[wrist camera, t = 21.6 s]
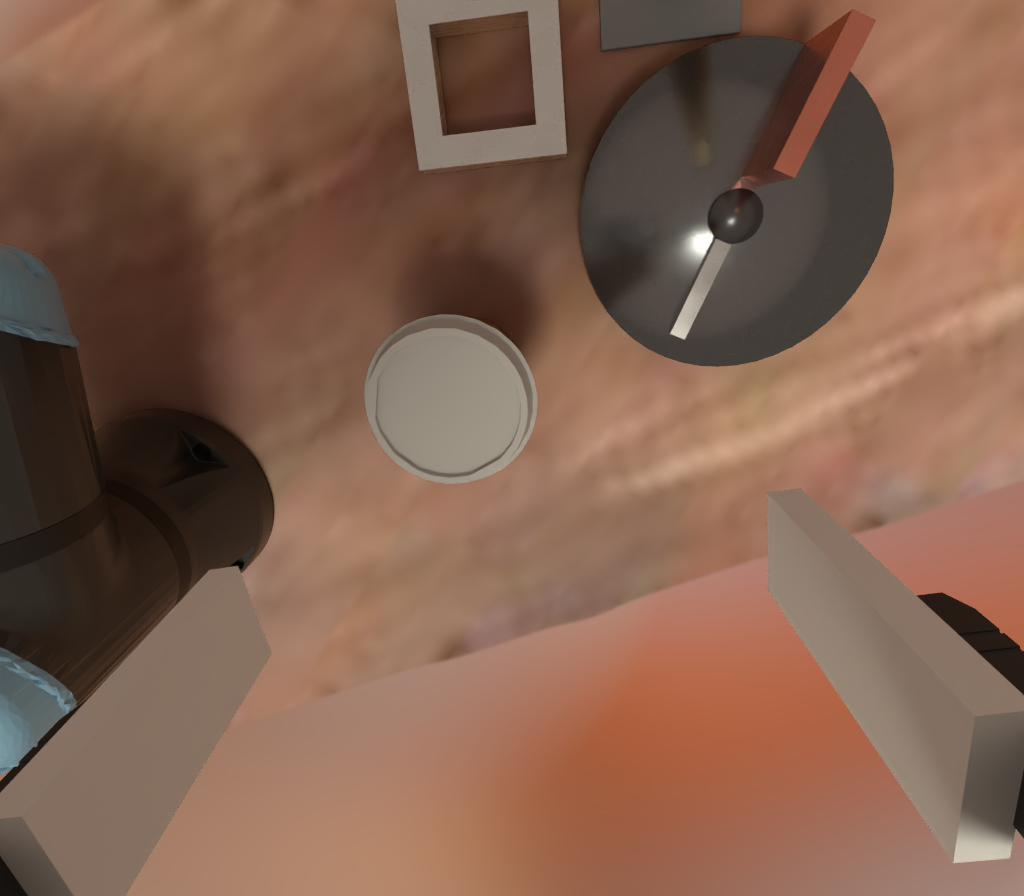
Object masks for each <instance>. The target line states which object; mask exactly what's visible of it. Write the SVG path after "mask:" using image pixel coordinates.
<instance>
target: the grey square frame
mask: <svg viewBox="0 0 1024 896" xmlns="http://www.w3.org/2000/svg"><path fill="white" fill-rule="evenodd" d="M395 2H396V9H397V16H398V23H399V30H400V38H401V45H402V52H403V59H404V66H405V73H406V80H407V88H408V95H409V102H410V109H411V116H412V123H413V130H414V138H415V145H416V152H417V159H418V166H419V171H421V172H423V173H425V174H435V173H443V172H452V171H461V170H469V169H478V168H487V167H495V166H504V165H512V164H521V163H530V162H538V161H547V160H556V159H564V158H566V155H567V146H566V129H565V112H564V95H563V78H562V61H561V43H560V26H559V9H558V0H395ZM522 26H529V36H530V49H531V63H532V76H533V90H534V103H535V117H536V125H529V126H521V127H513V128H505V129H496V130H488V131H480V132H472V133H463V134H455V135H448V131H447V123H446V114H445V106H444V98H443V90H442V82H441V73H440V65H439V57H438V49H437V40H436V38H441V37H448V36H456V35H463V34H471V33H478V32H485V31H493V30H500V29H507V28H515V27H522Z"/></svg>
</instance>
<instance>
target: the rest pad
mask: <svg viewBox="0 0 1024 896" xmlns="http://www.w3.org/2000/svg"><path fill="white" fill-rule="evenodd" d="M599 7H600V33H601V52H604V51H611V50H619V49H627V48H634V47H642V46H650V45H657V44H665V43H673V42H680V41H688V40H696V39H703V38H711V37H719V36H726V35H734V34H739V33H740V28H741V0H599Z"/></svg>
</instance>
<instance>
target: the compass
mask: <svg viewBox="0 0 1024 896" xmlns="http://www.w3.org/2000/svg"><path fill="white" fill-rule="evenodd" d="M875 21H876V20H875V19H872V18H870V17H868V16H866V15H864V14H862V13H860V12H858V11H855V10H853V9H852V10H851V11H850V12H848V13H847V14H845V15H844V16H843V17H841V18H840V19H839V20H837V21H836V22H834V23H833V24H832V25H830V26H829V27H828V28H826V29H825V30H823V31H822V32H821V33H819V34H818V35H817V36H815V37H814V38H812V39H811V40H810V41H808V42H807V43H806V44H803V43H800V42H797V41H794V40H789V39H783V38H778V37H767V36H748V37H740V38H731V39H726V40H723V41H719V42H715V43H712V44H708V45H705V46H703V47H701V48H698V49H696V50H694V51H691V52H689V53H687V54H685V55H683V56H681V57H680V58H678V59H676V60H674V61H673V62H671V63H669V64H668V65H666V66H665V67H663V68H662V69H661V70H659V71H658V72H657V73H656V74H654V75H653V76H652V77H650V78H649V79H648V80H647V81H646V82H645V83H644V84H643V85H642V86H641V87H640V88H639V89H638V90H637V91H636V92H635V93H634V94H633V95H632V96H631V97H630V98H629V99H628V100H627V101H626V103H625V104H624V105H623V107H622V108H621V109H620V110H619V112H618V113H617V114H616V115H615V117H614V119H613V120H612V122H611V124H610V125H609V127H608V128H607V130H606V132H605V133H604V135H603V137H602V138H601V140H600V142H599V144H598V146H597V148H596V150H595V153H594V155H593V157H592V159H591V161H590V165H589V168H588V171H587V174H586V177H585V180H584V184H583V189H582V194H581V200H580V210H579V241H580V247H581V253H582V258H583V262H584V266H585V269H586V272H587V275H588V278H589V281H590V283H591V285H592V287H593V289H594V291H595V294H596V295H597V297H598V299H599V300H600V302H601V303H602V305H603V306H604V308H605V309H606V311H607V312H608V313H609V314H610V315H611V317H612V318H613V319H614V320H615V321H616V323H617V324H618V325H619V326H620V327H621V328H622V329H623V330H624V331H625V332H626V333H628V334H629V335H630V336H631V337H632V338H633V339H634V340H636V341H637V342H639V343H640V344H642V345H643V346H645V347H646V348H648V349H650V350H652V351H654V352H656V353H658V354H660V355H662V356H664V357H667V358H670V359H673V360H676V361H679V362H683V363H688V364H694V365H699V366H731V365H739V364H744V363H749V362H754V361H758V360H761V359H764V358H767V357H770V356H773V355H775V354H778V353H780V352H782V351H784V350H786V349H788V348H790V347H792V346H794V345H796V344H797V343H799V342H801V341H802V340H804V339H806V338H807V337H809V336H810V335H812V334H813V333H814V332H816V331H817V330H818V329H819V328H821V327H822V326H823V325H825V324H826V323H827V322H828V321H829V320H830V319H831V318H832V317H833V316H834V315H835V314H836V313H837V312H838V311H839V310H840V309H841V308H842V307H843V306H844V305H845V304H846V302H847V301H848V300H849V299H850V298H851V296H852V295H853V294H854V293H855V292H856V290H857V289H858V287H859V286H860V284H861V283H862V281H863V280H864V278H865V277H866V275H867V273H868V271H869V269H870V268H871V266H872V264H873V262H874V260H875V258H876V256H877V254H878V251H879V249H880V246H881V243H882V241H883V238H884V235H885V232H886V229H887V225H888V221H889V217H890V213H891V206H892V198H893V171H894V168H893V160H892V153H891V146H890V142H889V139H888V135H887V131H886V128H885V125H884V122H883V120H882V118H881V116H880V113H879V111H878V109H877V106H876V105H875V103H874V102H873V100H872V98H871V97H870V95H869V94H868V92H867V91H866V89H865V88H864V86H863V85H862V84H861V83H860V82H859V81H858V80H857V79H856V77H855V76H854V75H853V74H852V73H851V72H850V70H851V68H852V66H853V64H854V62H855V60H856V58H857V56H858V54H859V52H860V50H861V48H862V46H863V44H864V42H865V40H866V39H867V37H868V35H869V33H870V31H871V29H872V27H873V25H874V23H875Z"/></svg>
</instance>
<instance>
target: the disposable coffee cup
mask: <svg viewBox="0 0 1024 896" xmlns="http://www.w3.org/2000/svg"><path fill="white" fill-rule="evenodd" d="M364 398H365V409H366V413H367V418H368V421H369V423H370V426H371V428H372V431H373V433H374V436H375V438H376V439H377V441H378V442H379V444H380V446H381V447H382V449H383V451H384V452H385V453H386V454H387V455H388V456H389V457H390V458H391V459H392V460H393V461H394V462H395V463H396V464H397V465H399V466H400V467H402V468H403V469H405V470H406V471H408V472H409V473H411V474H413V475H416V476H418V477H420V478H423V479H425V480H429V481H433V482H438V483H446V484H454V483H466V482H470V481H474V480H479V479H482V478H485V477H487V476H490V475H492V474H494V473H496V472H497V471H499V470H501V469H503V468H504V467H505V466H507V465H508V464H509V463H510V462H512V461H513V460H514V459H515V458H516V456H517V455H518V454H519V453H520V452H521V451H522V449H523V448H524V446H525V445H526V443H527V441H528V440H529V438H530V436H531V433H532V430H533V428H534V425H535V420H536V414H537V392H536V387H535V381H534V377H533V375H532V373H531V370H530V368H529V365H528V363H527V362H526V360H525V358H524V356H523V355H522V353H521V352H520V351H519V350H518V348H517V347H516V346H515V345H514V343H512V342H511V341H510V339H509V338H508V336H507V335H506V334H505V333H504V332H503V331H502V330H501V329H500V328H499V327H498V326H496V325H495V324H493V323H491V322H488V321H486V320H483V319H477V318H469V317H466V316H461V315H451V314H440V315H433V316H428V317H423V318H420V319H417V320H415V321H413V322H411V323H408V324H406V325H404V326H402V327H401V328H400V329H398V330H397V331H396V332H394V333H393V334H392V335H390V336H389V337H388V338H387V339H386V340H385V341H384V343H383V344H382V345H381V346H380V348H379V349H378V350H377V351H376V353H375V355H374V357H373V359H372V361H371V363H370V365H369V368H368V372H367V376H366V379H365V389H364Z"/></svg>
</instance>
